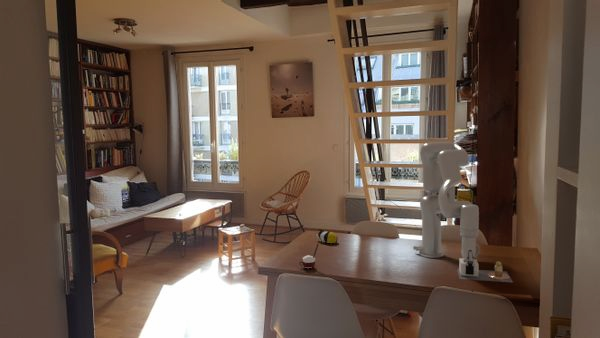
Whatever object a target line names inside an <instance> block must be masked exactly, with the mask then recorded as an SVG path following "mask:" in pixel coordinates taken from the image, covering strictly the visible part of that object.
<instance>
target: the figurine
mask: <svg viewBox="0 0 600 338" xmlns="http://www.w3.org/2000/svg"><path fill="white" fill-rule="evenodd" d="M318 230H319V231H318V233H317V234H316V236H315V237H316V238H317V239H319V242H321V241H323V242H322V243H325V242H326V243H325V244H327V243H334V244H336V243H337V242H338V238H339V237H338V236H337V234H336V233H335V232H333V231H325V230H324V229H321V228H318Z"/></svg>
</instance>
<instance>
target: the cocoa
mask: <svg viewBox="0 0 600 338" xmlns="http://www.w3.org/2000/svg"><path fill="white" fill-rule="evenodd" d="M318 247H319V242H318V243H317V244H316V247H315V249H314V253H313V255H305V256H303V257H302V261H300V262H299V265H300V266H301V267H302V266H304V267H315V265H316V258H315V256H316V254H317V251H318ZM304 267H303V268H304Z"/></svg>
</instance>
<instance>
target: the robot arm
mask: <svg viewBox="0 0 600 338" xmlns="http://www.w3.org/2000/svg"><path fill="white" fill-rule="evenodd" d="M419 152H420V153H419V154H420V160H421V163H422V186H423V187H422V188H423V190H424V192H426V193H429V194H430V195H425V196H422V198H421V199H420V202H419V206H420V210H421V211H420V212H421V245H419V246H417V245H413V246H412V247H413V250H414V251H418V255H419V256H421V257H424V258H430V259H438V258H439V259H440V258H443V257H444V256H445V253H444V251H442V222H441V221H442V220H441V219H440V217H439V216H438V215H437V214H441V215H442V216H443V217H444V218H446V219H459V221H460V222H459V224H460V225H459V228H460V229H459V236H461V251H460V252H461V256H462V257H461V258H463V259H466V264H467V265H466V274H468V275H473V274H474V266H473V260H474V259H475V254H476V246H477V245H476V244H477V241H476V240H477V239H476V238H478V237H479V226H480V225H479V220H480V217H479V215H480V212H479V211H480V210H479V209H480V208H479V206H478V205H477V204H474V203H472V202H470V201H468V200H458V201H457V200H456V194H455V193H456V187H455V186H456V185H458V184H459V183H461V182H462V181H463V177H462V174H461V170H460V168H462V167H463V168H464V167H467V165H468V164H469V161H470V158H469V154H468V152H467V151H466V150H465V149H464V148H463V147H462V146H460V145H459V144H458V143H456V142H453V141H433V142H431V141H430V142H426V143H423V144H422V145H421V148H420V151H419ZM434 193H436V194H434ZM437 193H438V194H437ZM431 194H433V195H431ZM468 260H469V261H468Z"/></svg>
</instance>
